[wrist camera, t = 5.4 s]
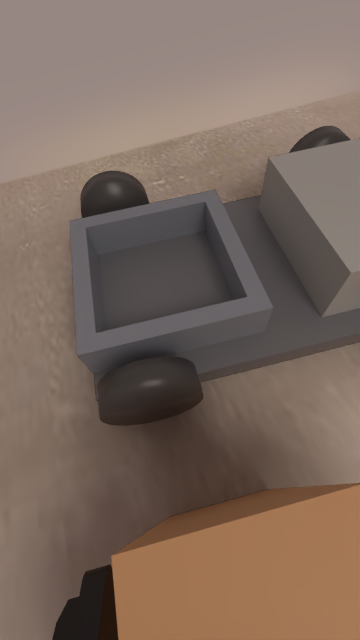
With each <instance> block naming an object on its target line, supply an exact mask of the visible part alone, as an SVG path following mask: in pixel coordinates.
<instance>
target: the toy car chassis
mask: <svg viewBox="0 0 360 640" xmlns="http://www.w3.org/2000/svg"><path fill="white" fill-rule="evenodd" d="M80 200H81V212H82V218H80V219H76V220H71V221H70V237H71V255H72V273H73V291H74V309H75V327H76V346H77V356H78V357H79V358H80V359H81V360H82V361H83V363H84V364H85V365H86V366H87V367H88V368H89V369H90V370H91V371H92V372H93V373H94V382H95V394H96V400H97V401H98V403H99V414H100V420H101V421H102V422H104V423H106V424H110V425H136V424H143V423H148V422H153V421H157V420H161V419H165V418H168V417H171V416H174V415H177V414H180V413H182V412H184V411H187V410H189V409H191V408H192V407H194V406H195V405H197V404H198V403H199V402H200V401H201V400H202V399H203V392H202V388H201V385H200V382H204V381H208V380H212V379H216V378H220V377H224V376H228V375H232V374H236V373H239V372H243V371H247V370H251V369H255V368H259V367H263V366H267V365H271V364H275V363H279V362H283V361H287V360H290V359H294V358H298V357H302V356H306V355H310V354H314V353H318V352H322V351H326V350H330V349H334V348H338V347H342V346H345V345H349V344H353V343H357V342H360V138H358V139H354V140H350V139H349V138H348V137H347V136H346V135H345V134H344V133H343V132H342V131H341V130H340V129H339V128H337V127H334V126H324V127H320V128H317V129H315V130H313V131H311V132H309V133H308V134H306V135H305V136H304V137H303V138H301V139H300V140H299V141H298V142H297V143H296V144H295V145H294V147H293V148H292V149H291V151H290V152H289V153H287V154H282V155H278V156H273V157H269V158H268V163H267V168H266V173H265V179H264V184H263V189H262V194H261V195H260V196H255V197H251V198H246V199H242V200H237V201H232V202H228V203H223V204H222V202H221V200H220V198H219V196H218V194H217V192H216V190H211V191H206V192H201V193H197V194H192V195H187V196H183V197H178V198H174V199H169V200H164V201H160V202H155V203H150V204H149V201H148V197H147V194H146V191H145V189H144V187H143V185H142V184H141V183H140V182H139V181H138V180H137V179H136V178H135V177H133V176H131V175H130V174H127V173H125V172H120V171H106V172H102V173H99V174H97V175H95V176H93V177H92V178H91V179H90V180H88V182H87V183H86V184H85V185H84V187H83V189H82V192H81V198H80Z"/></svg>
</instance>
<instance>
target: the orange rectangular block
mask: <svg viewBox="0 0 360 640" xmlns="http://www.w3.org/2000/svg"><path fill="white" fill-rule="evenodd" d="M111 559H112V571H113V582H114V593H115V605H116V616H117V627H118V639H119V640H360V483H355V484H340V485H325V486H310V487H295V488H280V489H268V490H264V491H261V492H257V493H253V494H250V495H246V496H243V497H239V498H236V499H232V500H229V501H225V502H221V503H218V504H214V505H211V506H207V507H204V508H200V509H197V510H193V511H189V512H186V513H182V514H179V515H175V516H172V517H168V518H167V519H165V520H164V521H162V522H161V523H159V524H158V525H156V526H155V527H153V528H152V529H150V530H149V531H147V532H146V533H144V534H143V535H141V536H140V537H138V538H137V539H136V540H134V541H133V542H131V543H130V544H128V545H127V546H125V547H124V548H122V549H121V550H119V551H118V552H116V553H115V554H113V555H112V556H111Z"/></svg>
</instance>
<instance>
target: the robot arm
mask: <svg viewBox="0 0 360 640" xmlns="http://www.w3.org/2000/svg"><path fill="white" fill-rule="evenodd" d="M52 640H119V639H118V627H117V616H116V605H115V593H114V582H113V571H112V567H111V565H107V566H103V567H100V568H96V569H93V570H89V571H86V572H85V574H84V576H83V580H82V585H81V591H80V596H79V597H76V598H72V599H69V600H68V602H67V604H66V606H65V607H64V609H63V611H62V613H61V615H60V617H59V619H58V621H57V623H56V627H55V631H54V635H53V639H52Z"/></svg>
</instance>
